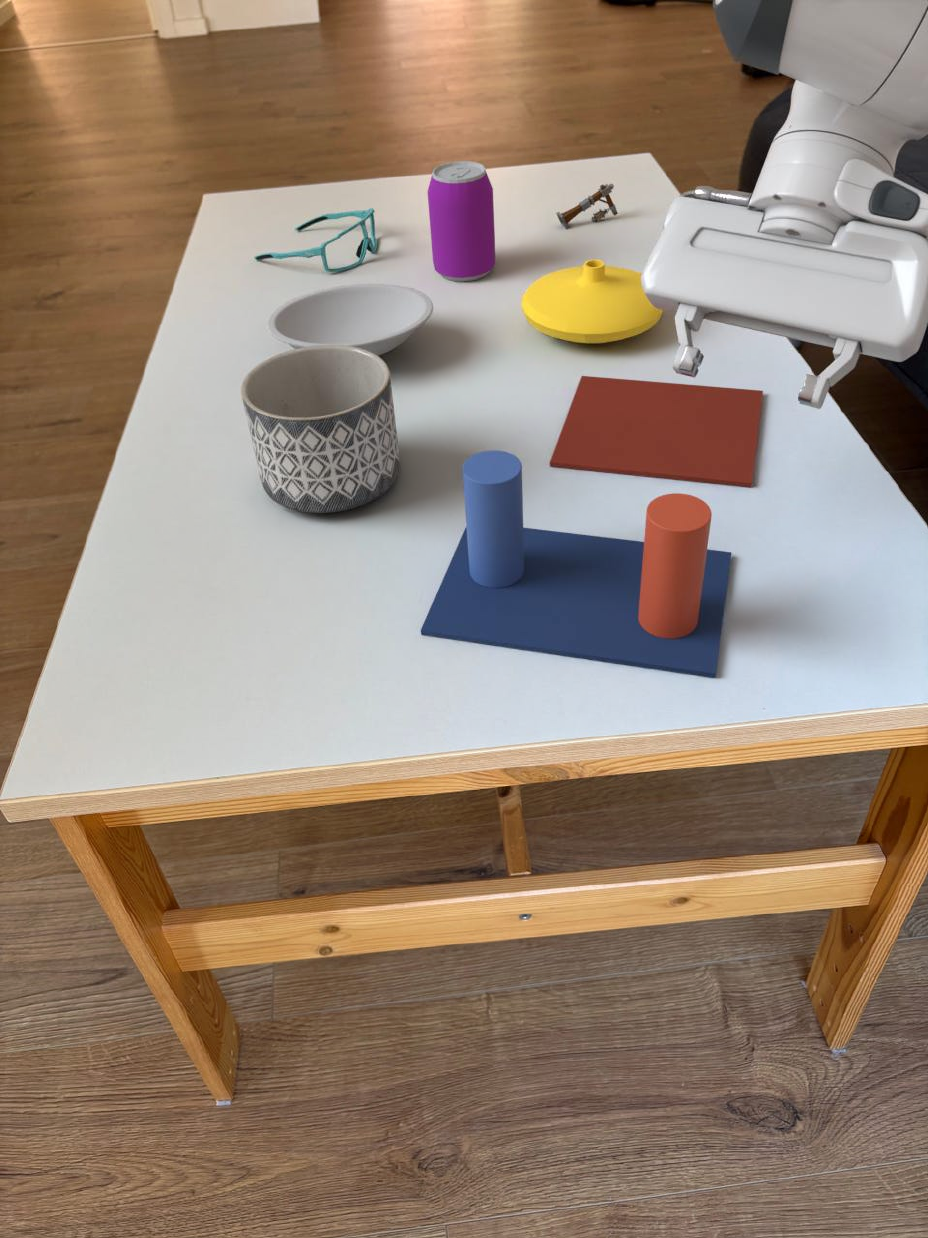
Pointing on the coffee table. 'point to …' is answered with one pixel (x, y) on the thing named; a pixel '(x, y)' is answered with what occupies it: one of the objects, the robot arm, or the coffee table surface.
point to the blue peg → (494, 518)
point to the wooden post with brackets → (587, 203)
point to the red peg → (673, 564)
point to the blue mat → (578, 605)
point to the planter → (323, 427)
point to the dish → (352, 317)
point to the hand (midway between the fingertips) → (744, 388)
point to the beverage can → (461, 221)
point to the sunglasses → (361, 251)
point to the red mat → (661, 431)
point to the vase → (590, 304)
